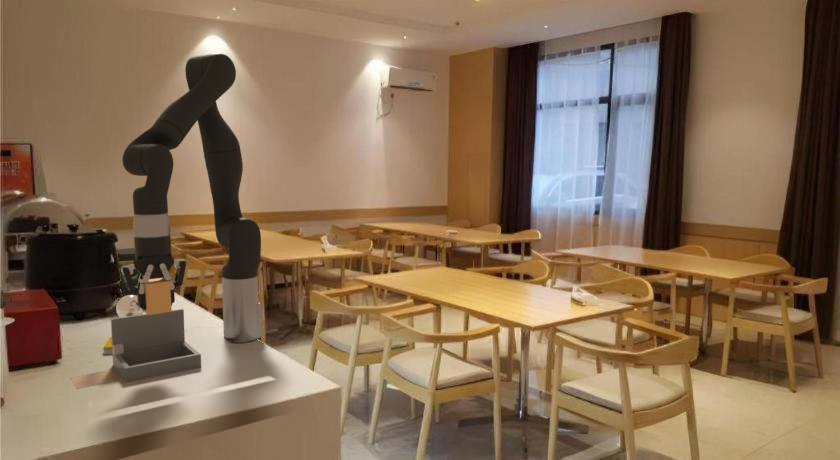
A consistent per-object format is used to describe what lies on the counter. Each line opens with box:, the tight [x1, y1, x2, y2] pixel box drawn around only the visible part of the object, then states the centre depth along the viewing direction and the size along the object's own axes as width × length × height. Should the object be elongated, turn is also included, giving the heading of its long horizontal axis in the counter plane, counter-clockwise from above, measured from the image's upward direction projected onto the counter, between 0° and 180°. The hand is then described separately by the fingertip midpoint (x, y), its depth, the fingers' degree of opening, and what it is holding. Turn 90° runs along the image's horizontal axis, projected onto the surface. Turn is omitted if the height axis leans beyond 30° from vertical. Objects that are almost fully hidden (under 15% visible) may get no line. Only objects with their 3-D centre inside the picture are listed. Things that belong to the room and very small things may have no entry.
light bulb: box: [115, 295, 145, 318], centre depth 161 cm, size 7×7×12 cm
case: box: [110, 308, 202, 383], centre depth 138 cm, size 16×13×12 cm
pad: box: [70, 369, 119, 390], centre depth 130 cm, size 8×8×1 cm
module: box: [142, 278, 173, 315], centre depth 136 cm, size 5×5×7 cm
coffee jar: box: [115, 247, 140, 304], centre depth 199 cm, size 10×8×19 cm
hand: (156, 306), depth 136 cm, fingers closed on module, 5 cm apart
